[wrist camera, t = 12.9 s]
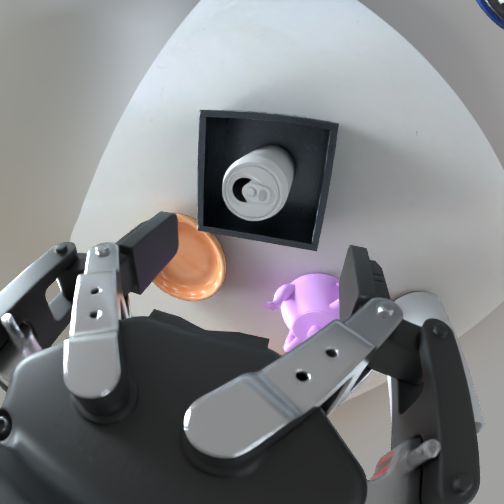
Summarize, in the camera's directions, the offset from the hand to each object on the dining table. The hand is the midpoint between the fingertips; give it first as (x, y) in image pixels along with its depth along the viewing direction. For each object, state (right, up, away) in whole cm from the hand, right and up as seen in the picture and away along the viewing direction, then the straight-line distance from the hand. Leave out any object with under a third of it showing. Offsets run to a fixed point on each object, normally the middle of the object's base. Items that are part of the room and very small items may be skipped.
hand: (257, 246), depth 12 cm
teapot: (+11, -8, +32) cm, 34 cm away
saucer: (-11, 0, +33) cm, 35 cm away
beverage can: (+2, +11, +23) cm, 25 cm away
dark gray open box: (+2, +11, +23) cm, 26 cm away
